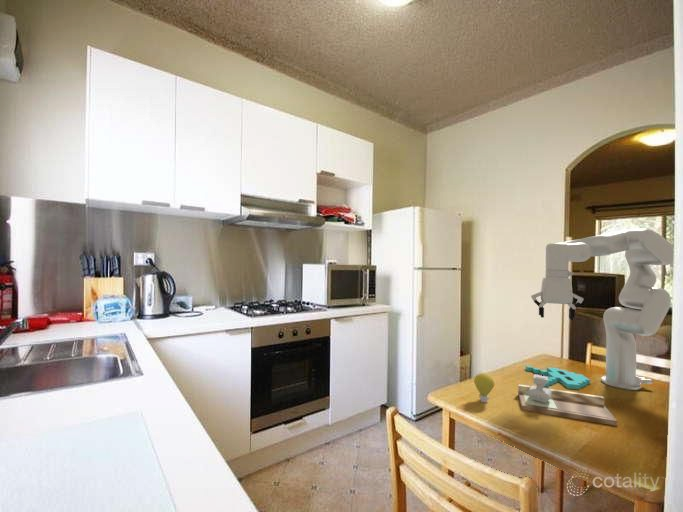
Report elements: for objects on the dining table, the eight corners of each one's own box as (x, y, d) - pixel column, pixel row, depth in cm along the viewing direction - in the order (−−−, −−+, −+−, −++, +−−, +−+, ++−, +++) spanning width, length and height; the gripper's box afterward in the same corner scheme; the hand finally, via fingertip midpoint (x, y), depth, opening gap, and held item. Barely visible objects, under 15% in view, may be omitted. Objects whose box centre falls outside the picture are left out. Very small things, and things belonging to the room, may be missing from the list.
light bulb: (486, 406, 114) (486, 378, 114) (469, 399, 120) (470, 372, 120) (498, 402, 118) (498, 374, 118) (481, 395, 123) (481, 368, 123)
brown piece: (602, 407, 114) (602, 396, 114) (617, 425, 102) (617, 412, 102) (518, 394, 124) (518, 384, 124) (522, 409, 112) (522, 398, 112)
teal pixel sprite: (543, 387, 132) (599, 392, 128) (543, 382, 132) (599, 386, 128) (525, 370, 152) (574, 374, 148) (525, 365, 152) (574, 369, 148)
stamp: (531, 393, 121) (531, 370, 121) (552, 398, 117) (552, 375, 117) (526, 402, 114) (527, 378, 114) (549, 407, 110) (549, 382, 110)
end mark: (551, 397, 118) (551, 397, 118) (557, 409, 110) (557, 408, 110) (523, 393, 122) (523, 392, 122) (526, 404, 113) (526, 403, 113)
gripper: (580, 274, 129) (580, 318, 129) (530, 273, 135) (529, 314, 135) (586, 275, 122) (585, 321, 122) (532, 274, 128) (532, 318, 128)
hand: (556, 318), depth 129 cm, fingers open, 9 cm apart
